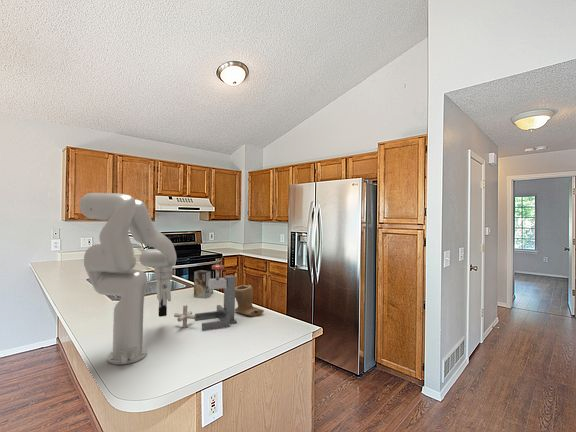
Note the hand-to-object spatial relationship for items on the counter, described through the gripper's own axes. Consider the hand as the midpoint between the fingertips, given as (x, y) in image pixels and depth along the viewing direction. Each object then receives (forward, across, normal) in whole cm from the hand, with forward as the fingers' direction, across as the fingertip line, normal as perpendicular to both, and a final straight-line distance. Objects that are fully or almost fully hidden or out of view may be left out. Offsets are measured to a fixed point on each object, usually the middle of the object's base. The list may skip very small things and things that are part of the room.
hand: (162, 315), depth 138 cm
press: (+7, -1, -24) cm, 25 cm away
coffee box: (+8, +49, -30) cm, 58 cm away
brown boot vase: (+7, +6, -43) cm, 44 cm away
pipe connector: (+7, -1, -10) cm, 12 cm away
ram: (-8, 0, -24) cm, 26 cm away
